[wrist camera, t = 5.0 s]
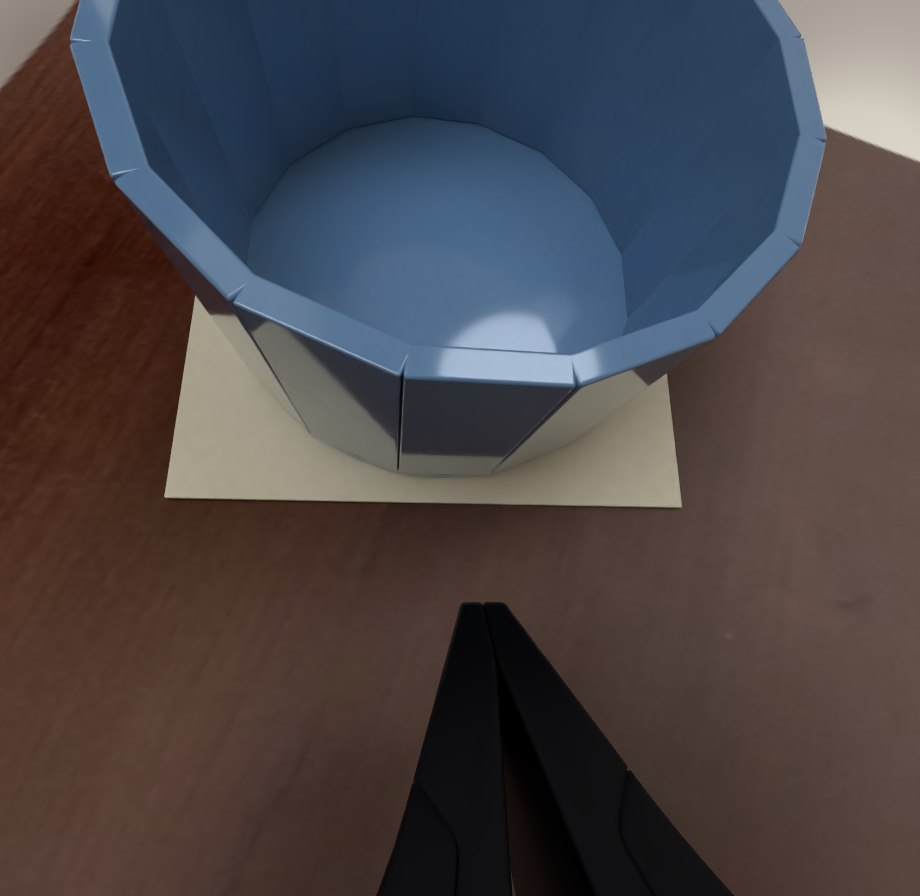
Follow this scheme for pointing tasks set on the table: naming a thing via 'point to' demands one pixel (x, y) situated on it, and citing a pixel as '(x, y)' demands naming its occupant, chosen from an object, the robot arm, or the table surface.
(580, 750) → the robot arm
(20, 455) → the table surface
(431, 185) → the blue bowl
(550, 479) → the placemat
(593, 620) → the table surface
